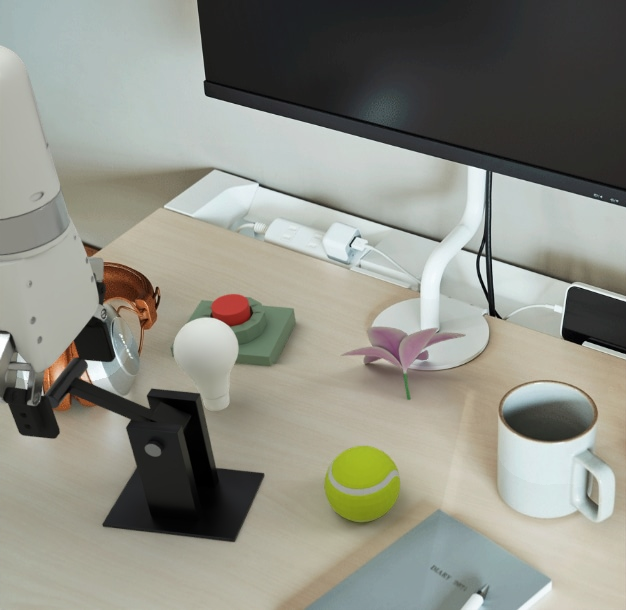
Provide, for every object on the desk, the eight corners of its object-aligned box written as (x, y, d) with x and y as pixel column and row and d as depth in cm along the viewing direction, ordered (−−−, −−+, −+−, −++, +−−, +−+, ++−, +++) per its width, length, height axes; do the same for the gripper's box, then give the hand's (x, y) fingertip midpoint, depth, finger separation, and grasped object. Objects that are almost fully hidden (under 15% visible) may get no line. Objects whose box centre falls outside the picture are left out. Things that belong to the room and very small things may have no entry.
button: (208, 326, 100) (205, 313, 99) (221, 305, 103) (218, 292, 102) (243, 329, 100) (241, 316, 99) (255, 308, 103) (253, 295, 102)
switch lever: (39, 407, 75) (44, 388, 74) (69, 369, 79) (74, 350, 78) (167, 461, 77) (174, 444, 76) (191, 421, 81) (198, 403, 80)
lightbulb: (176, 424, 93) (155, 337, 86) (205, 385, 98) (187, 301, 91) (232, 434, 92) (215, 347, 85) (258, 395, 96) (244, 310, 90)
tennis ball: (379, 548, 80) (375, 494, 76) (313, 523, 82) (306, 470, 79) (414, 495, 85) (412, 442, 82) (351, 474, 87) (346, 421, 84)
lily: (481, 383, 100) (465, 297, 99) (445, 415, 89) (427, 319, 88) (382, 394, 104) (365, 311, 103) (335, 426, 93) (316, 334, 92)
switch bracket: (104, 533, 81) (72, 435, 74) (143, 468, 88) (117, 372, 81) (236, 548, 80) (215, 451, 73) (265, 481, 87) (249, 386, 80)
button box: (173, 363, 101) (167, 334, 98) (204, 315, 108) (199, 286, 106) (271, 372, 100) (266, 343, 97) (295, 323, 107) (292, 295, 104)
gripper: (26, 161, 75) (78, 330, 85) (-112, 278, 61) (-31, 464, 71) (114, 168, 74) (156, 337, 84) (-6, 287, 60) (61, 473, 70)
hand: (70, 395), depth 77 cm, fingers open, 9 cm apart
